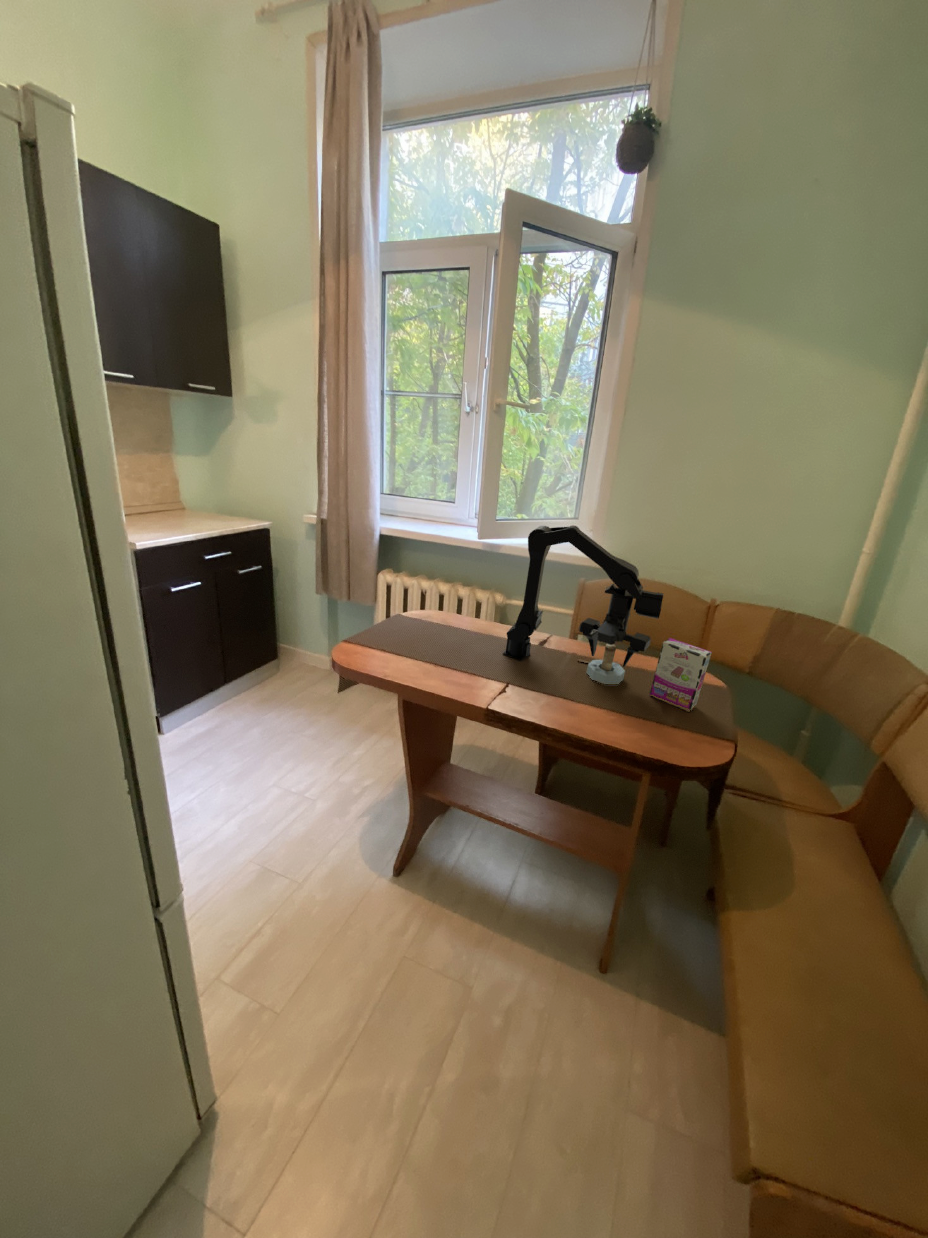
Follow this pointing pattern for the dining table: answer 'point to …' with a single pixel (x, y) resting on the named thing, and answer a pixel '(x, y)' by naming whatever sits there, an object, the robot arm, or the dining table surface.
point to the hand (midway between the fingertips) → (608, 661)
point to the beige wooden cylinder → (608, 657)
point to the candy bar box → (680, 673)
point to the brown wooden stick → (583, 661)
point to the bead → (605, 672)
